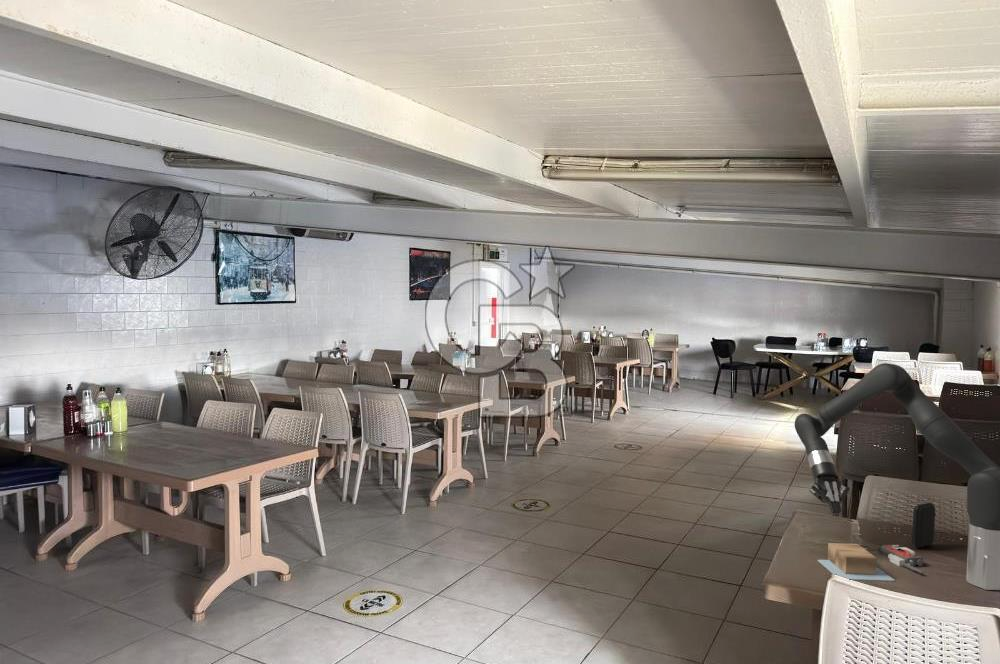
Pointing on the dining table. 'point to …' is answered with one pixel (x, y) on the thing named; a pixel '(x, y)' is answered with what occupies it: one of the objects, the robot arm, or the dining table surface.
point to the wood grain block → (852, 558)
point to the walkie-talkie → (902, 556)
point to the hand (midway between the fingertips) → (837, 513)
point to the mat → (872, 577)
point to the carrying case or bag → (923, 525)
